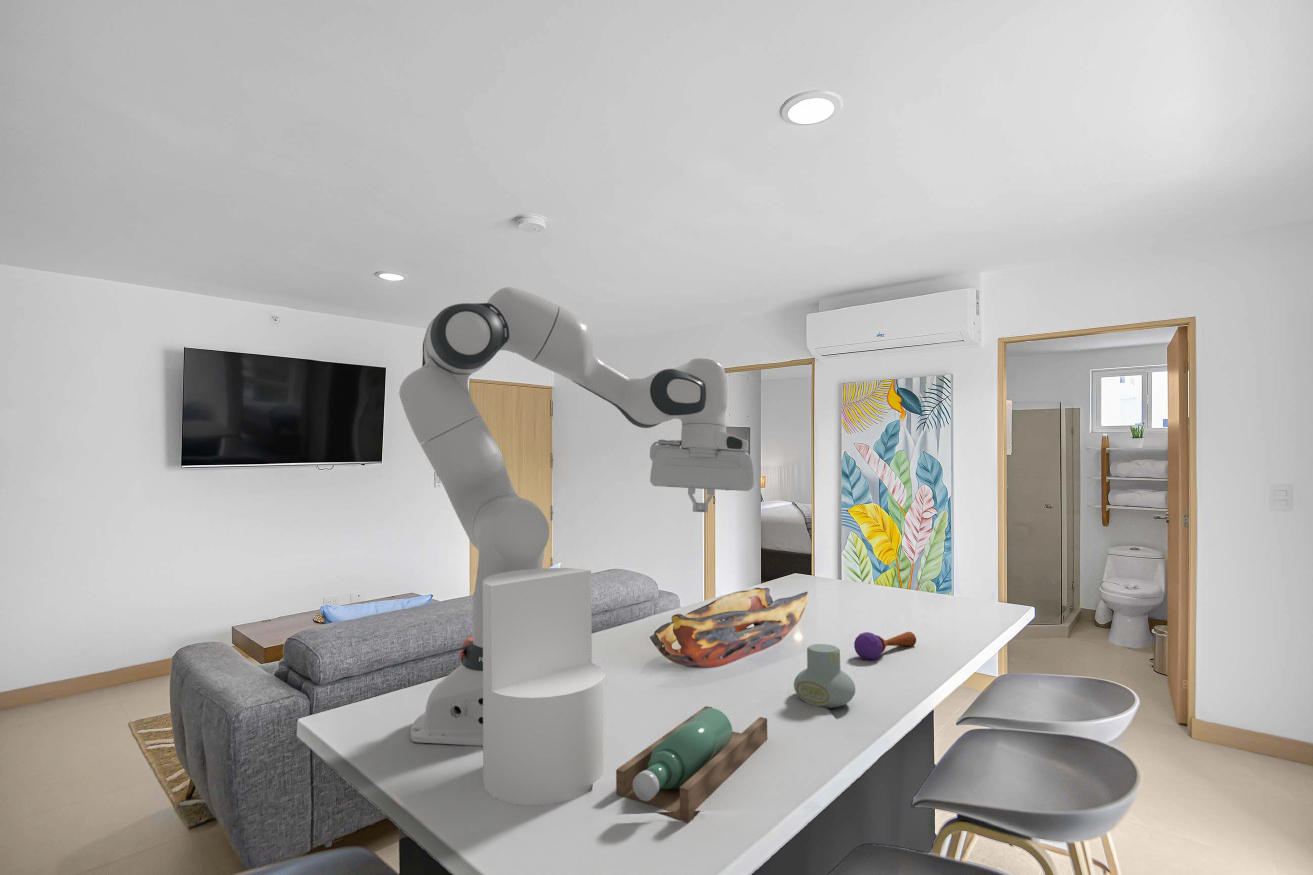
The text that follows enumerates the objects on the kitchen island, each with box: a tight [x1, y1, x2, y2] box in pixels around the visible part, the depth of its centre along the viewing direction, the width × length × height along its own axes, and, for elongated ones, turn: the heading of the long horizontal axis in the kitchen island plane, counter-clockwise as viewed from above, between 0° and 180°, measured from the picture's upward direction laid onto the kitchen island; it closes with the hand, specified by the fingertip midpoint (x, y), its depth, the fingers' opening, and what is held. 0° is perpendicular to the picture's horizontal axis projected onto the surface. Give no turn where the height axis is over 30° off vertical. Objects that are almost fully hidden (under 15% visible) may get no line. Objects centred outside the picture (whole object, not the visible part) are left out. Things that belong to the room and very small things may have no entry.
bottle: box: [633, 707, 733, 801], centre depth 91 cm, size 6×6×21 cm
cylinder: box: [482, 567, 607, 806], centre depth 95 cm, size 17×17×28 cm
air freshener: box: [793, 643, 856, 709], centre depth 121 cm, size 11×8×10 cm
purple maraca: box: [853, 631, 917, 661], centre depth 152 cm, size 6×6×20 cm
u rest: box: [615, 705, 768, 824], centre depth 95 cm, size 26×11×4 cm, turn 149°
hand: (700, 512), depth 128 cm, fingers closed
